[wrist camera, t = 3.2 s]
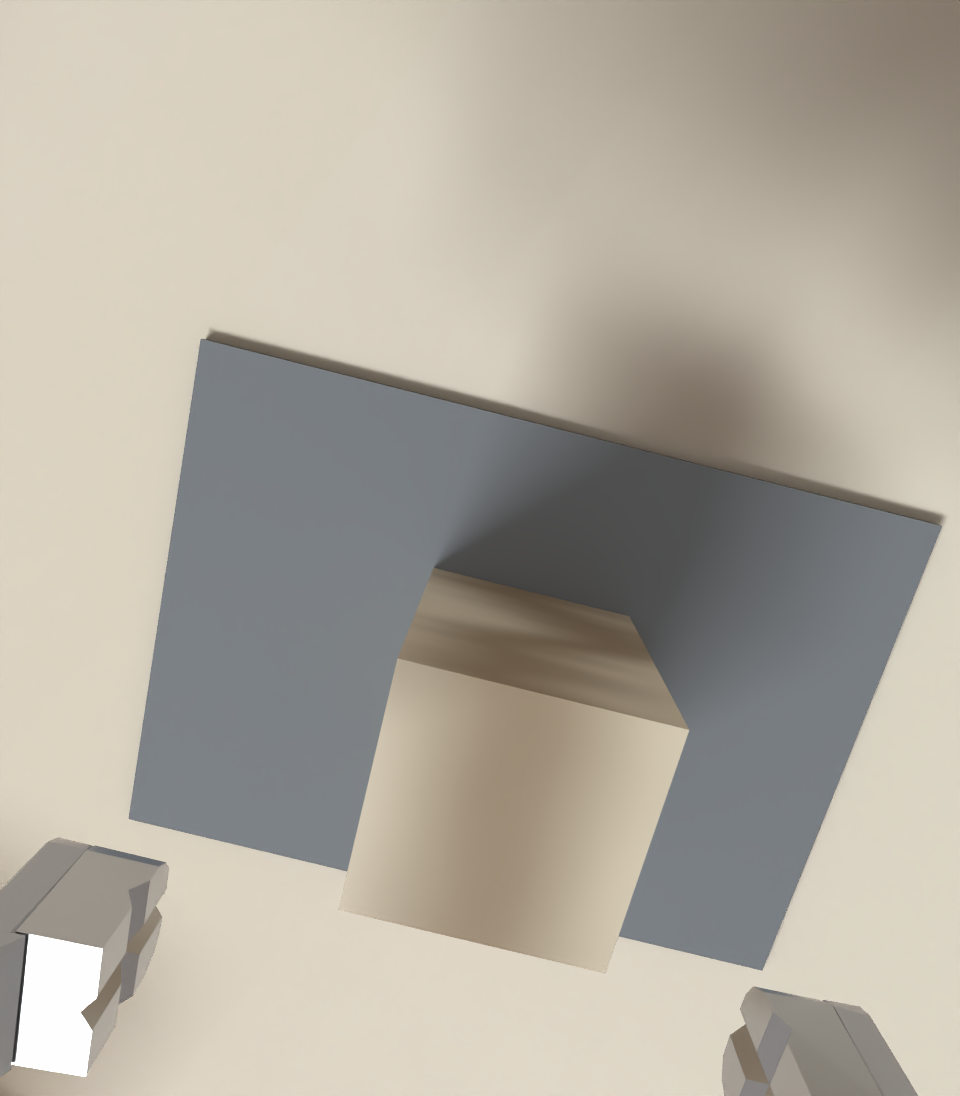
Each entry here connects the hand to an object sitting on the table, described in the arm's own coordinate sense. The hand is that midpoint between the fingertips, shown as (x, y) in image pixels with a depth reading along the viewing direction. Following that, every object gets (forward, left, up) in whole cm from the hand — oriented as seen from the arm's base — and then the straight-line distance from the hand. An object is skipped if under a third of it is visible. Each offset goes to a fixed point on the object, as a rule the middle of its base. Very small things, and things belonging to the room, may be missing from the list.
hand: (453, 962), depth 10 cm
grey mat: (-1, 0, -9) cm, 9 cm away
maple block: (-1, 0, -9) cm, 9 cm away
